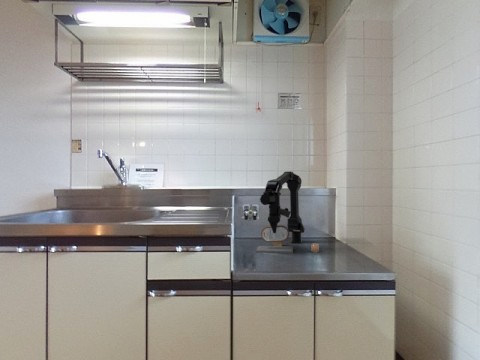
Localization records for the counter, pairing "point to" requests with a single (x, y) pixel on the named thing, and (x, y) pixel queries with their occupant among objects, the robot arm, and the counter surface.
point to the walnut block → (277, 243)
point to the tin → (275, 234)
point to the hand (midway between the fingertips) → (274, 232)
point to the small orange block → (314, 247)
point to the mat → (274, 249)
